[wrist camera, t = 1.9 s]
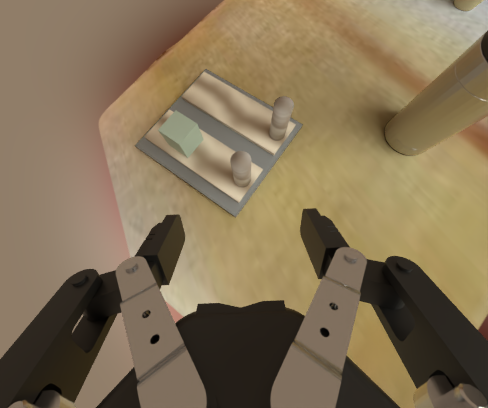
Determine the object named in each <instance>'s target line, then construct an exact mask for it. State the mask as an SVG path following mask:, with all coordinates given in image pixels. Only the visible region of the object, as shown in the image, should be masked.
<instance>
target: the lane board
mask: <svg viewBox="0 0 488 408" xmlns="http://www.w3.org/2000/svg"><path fill="white" fill-rule="evenodd" d="M203 72H206V73H208V74H209V75H211V76H213V77H214V78H216V79H218V80H220V81H221V82H223V83H225V84H227V85H228V86H230V87H232V88H234V89H235V90H237V91H239V92H240V93H242V94H244V95H246V96H247V97H249V98H251V99H253V100H254V101H256V102H258V103H259V104H261V105H263V106H265V107H266V108H268V109H270V110H272V111H273V107H271V106H270V105H268V104H266V103H264V102H263V101H261V100H259V99H257V98H256V97H254V96H252V95H250V94H249V93H247V92H245V91H244V90H242V89H240V88H238V87H237V86H235V85H233V84H231V83H230V82H228V81H226V80H224V79H223V78H221V77H219V76H217V75H216V74H214V73H212V72H210V71H209V70H207V69H205V70H204V71H203ZM203 72H202V73H203ZM202 73H201V75H202ZM201 75H200V76H201ZM200 76H199V77H200ZM199 77H198V78H199ZM198 78H197V79H198ZM197 79H196V80H197ZM196 80H195V81H196ZM195 81H194V82H195ZM194 82H193V83H194ZM193 83H192V84H193ZM192 84H191V85H192ZM191 85H190V86H189V88H190V87H191ZM189 88H188V89H189ZM188 89H187V90H188ZM187 90H186V91H187ZM186 91H185V92H186ZM185 92H184V93H185ZM184 93H183V94H184ZM183 94H182V95H183ZM182 95H181V96H180V97H179V98H178V99H177V101H176V102H175V103H174V104H173V105H172V106H171V107H170V108H169V109H170V110H171V111H173V112H175V111H176V110H177V111H178V112H180V113H181V114H183V115H184V116H186V117H187V118H189V119H191V120H192V121H194V122H195V123H197V124H198V127H199V129H201V130H202V131H204V132H206V133H207V134H209V135H210V136H212V137H213V138H215V139H217V140H218V141H220V142H221V143H223V144H224V145H226V146H227V147H229V148H231V149H232V150H234V151H235V152H237V151H245V152H247V153H248V154H249V155H250V156H251V162H252V163H254V164H256V165H257V166H259V167H260V168H262V169H263V171H262V172H261V174H260V175H259V176H258V178H257V179H256V181H255V182H254V183H253V185H252V186H251V187H250V189H249V190H248V191H247V193H246V194H245V195H244V197H243V198H242V199H241V201H240V202H239V203H238V202H237V201H235V200H234V199H232V198H231V197H230V196H228V195H227V194H225V193H224V192H222V191H221V190H219V189H218V188H216V187H215V186H214V185H212V184H211V183H209V182H208V181H206V180H205V179H203V178H202V177H201V176H199V175H198V174H196V173H195V172H193V171H192V170H190V169H189V168H187V167H186V166H185V165H183V164H182V163H180V162H179V161H177V160H176V159H174V158H173V157H172V156H170V155H169V154H167V153H166V152H164V151H163V150H161V149H160V148H158V147H157V146H156V145H154V144H153V143H151V142H150V141H148V140H147V139H146V138H145V137H144V136H145V135H146V134H147V133H148V132H149V131H150V130H151V129H152V128H153V127H154V126H155V125H156V123H157V122H158V121H159V120H160V119H161V118H162V117H163V116H164V115H165V114H166V113H167V112H168V110H169V109H168V110H167V111H166V112H165V114H164V115H163V116H162V117H161V118H160V119H159V120H158V121H157V122H156V123H155V124H154V125H153V127H152V128H151V129H150V130H149V131H148V132H147V133H146V134H145V135H144V136H143V137H142V138H141V140H140V141H139V142H138V143H137V144H136V145H135V146H136V147H137V148H138V149H140V150H141V151H142V152H144V153H145V154H147V155H148V156H150V157H151V158H152V159H154V160H155V161H157V162H158V163H159V164H161V165H162V166H164V167H165V168H167V169H168V170H169V171H171V172H172V173H174V174H175V175H176V176H178V177H179V178H181V179H182V180H184V181H185V182H186V183H188V184H189V185H191V186H192V187H193V188H195V189H196V190H198V191H199V192H201V193H202V194H203V195H205V196H206V197H208V198H209V199H210V200H212V201H213V202H215V203H216V204H218V205H219V206H220V207H222V208H223V209H225V210H226V211H227V212H229V213H230V214H232V215H233V216H235V217H236V216H237V215H238V214H239V212H240V211H241V210H242V208H243V207H244V205H245V204H246V203H247V201H248V200H249V199H250V197H251V196H252V194H253V193H254V192H255V190H256V189H257V188H258V186H259V185H260V183H261V182H262V181H263V179H264V178H265V177H266V175H267V174H268V172H269V171H270V170H271V168H272V167H273V166H274V164H275V163H276V161H277V160H278V159H279V157H280V156H281V155H282V153H283V152H284V150H285V149H286V148H287V146H288V145H289V144H290V142H291V141H292V140H293V138H294V137H295V135H296V134H297V133H298V131H299V130H300V129H301V127H302V125H303V124H301V123H299V122H298V121H296V120H294V119H292V118H291V117H290V120H289V121H291V122H292V123H294V124H296V126H295V128H294V129H293V130H292V132H291V133H290V134H289V136H288V137H287V138H286V140H285V141H284V143H283V144H282V145H281V147H280V148H279V149H278V151H277V152H276V153H275V155H274V156H273V155H272V154H270V153H269V152H267V151H265V150H264V149H262V148H261V147H259V146H257V145H256V144H254V143H253V142H251V141H249V140H248V139H246V138H244V137H243V136H241V135H240V134H238V133H236V132H235V131H233V130H232V129H230V128H228V127H227V126H225V125H224V124H222V123H220V122H219V121H217V120H215V119H214V118H212V117H211V116H209V115H207V114H206V113H204V112H203V111H201V110H199V109H198V108H196V107H195V106H193V105H191V104H190V103H188V102H186V101H185V100H183V99H182Z"/></svg>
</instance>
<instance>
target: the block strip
mask: <svg viewBox="0 0 488 408" xmlns="http://www.w3.org/2000/svg"><path fill="white" fill-rule="evenodd" d="M173 113H174V112H173V111H171V110H170V109H169V110H168V112H167V113H166V114H165V115H164V116H163V117H162V118H161V119H160V120H159V121H158V122H157V123H156V125H155V126H154V127H153V128H152V129H151V130H150V131H149V132H148V133H147V134H146V135H145V136H144V137H145V138H146V139H147V140H148V141H150V142H151V143H153V144H154V145H156V146H157V147H158V148H160V149H161V150H163V151H164V152H166V153H167V154H169V155H170V156H172V157H173V158H174V159H176V160H177V161H179V162H180V163H182V164H183V165H185V166H186V167H187V168H189V169H190V170H192V171H193V172H195V173H196V174H198V175H199V176H201V177H202V178H203V179H205V180H206V181H208V182H209V183H211V184H212V185H214V186H215V187H216V188H218V189H219V190H221V191H222V192H224V193H225V194H227V195H228V196H230V197H231V198H232V199H234V200H235V201H237V202H238V203H239V202H240V201H241V199H242V198H243V197H244V195H245V194H246V193H247V191H248V190H249V189H250V187H251V186H252V185H253V183H254V182H255V181H256V179H257V178H258V176H259V175H260V174H261V172H262V171H263V169H262V168H260V167H259V166H257V165H256V164H254V163H252V162H251V156H250V155H249V154H248V153H247V152H245V151H237V152H235V151H234V150H232V149H231V148H229V147H227V146H226V145H224V144H223V143H221V142H220V141H218V140H217V139H215V138H213V137H212V136H210V135H209V134H207V133H206V132H204V131H202V130H201V129H200V132H201V134H202V137H203V139H204V140H203V141H202V142H201V143H200V144H199V146H198V147H197V148H196V149H195V150H194V152H193V153H192V154H191V155H190V156H189V157H188V158H187V157H186V156H184V155H183V154H181V153H180V152H178V151H177V150H176V149H174V148H173V147H171V146H170V145H169V144H168V143H167V142H166V140H165V139H164V138H163V136H162V135H161V134H160V132H159V131H158V129H159V128H160V127H161V126H162V125H163V124H164V123H165V122H166V120H167V119H168V118H169V117H170V116H171V115H172V114H173Z"/></svg>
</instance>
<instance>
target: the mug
mask: <svg viewBox="0 0 488 408" xmlns="http://www.w3.org/2000/svg"><path fill="white" fill-rule="evenodd" d="M482 1H484V0H454V5H455V6H456V8H458V9H460V10H463V11H469V10H472V9H473V8H474V7H476V6H477V5H478V4H480V3H481V2H482Z"/></svg>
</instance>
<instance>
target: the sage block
mask: <svg viewBox="0 0 488 408" xmlns="http://www.w3.org/2000/svg"><path fill="white" fill-rule="evenodd" d="M158 131H159V132H160V134H161V135H162V136H163V138H164V139H165V140H166V142H167V143H168V144H169V145H170V146H171V147H173V148H174V149H176V150H177V151H178V152H180V153H181V154H183V155H184V156H186V157H187V158H188V157H189V156H190V155H191V154H192V153H193V152H194V150H195V149H196V148H197V147H198V146H199V144H200V143H201V142H202V141H203V140H204V139H203V137H202V134H201V132H200V129H199V127H198V124H197V123H195V122H194V121H192V120H191V119H189V118H187V117H186V116H184V115H183V114H181V113H180V112H178V111H177V110H176V111H175V112H174V113H173V114H172V115H171V116H170V117H169V118H168V119H167V120H166V122H165V123H164V124H163V125H162V126H161V127H160V128H159V129H158Z"/></svg>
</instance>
